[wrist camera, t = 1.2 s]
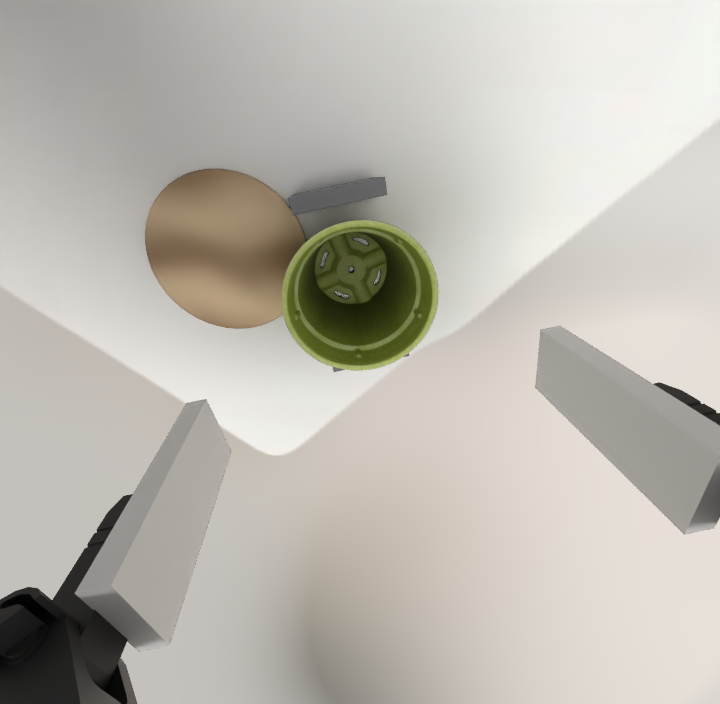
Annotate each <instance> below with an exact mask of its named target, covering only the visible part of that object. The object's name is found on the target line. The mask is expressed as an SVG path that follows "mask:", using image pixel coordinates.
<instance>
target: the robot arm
mask: <svg viewBox="0 0 720 704" xmlns="http://www.w3.org/2000/svg"><path fill="white" fill-rule="evenodd" d="M535 388H536V389H537V390H538V391H539V392H540V393H541V394H542V395H544V397H545V398H546V399H547V400H548V401H549V402H551V404H552V405H553V406H554V407H556V409H557V410H558V411H559V412H561V413H562V414H563V415H564V416H565V417H566V418H567V419H568V420H569V421H570V422H571V423H572V424H573V425H574V426H575V427H576V428H577V429H578V430H579V431H580V432H581V433H582V434H583V435H584V436H585V437H586V438H587V439H588V440H589V441H590V442H591V443H592V444H593V445H594V446H595V447H596V448H597V449H598V450H599V451H600V452H601V453H602V454H603V455H604V456H605V457H606V458H607V459H608V460H609V461H610V462H611V463H612V464H613V465H614V466H615V467H616V468H617V469H618V470H619V471H620V472H621V473H622V474H623V475H624V476H625V477H626V478H627V479H629V480H630V482H631V483H633V484H634V485H635V486H636V487H637V488H638V489H639V490H640V491H641V492H642V493H643V494H644V495H645V496H646V497H647V498H648V499H649V500H650V501H651V502H652V503H653V504H654V505H655V506H656V507H657V508H658V509H659V510H660V511H661V512H662V513H663V514H664V515H665V516H666V517H667V518H668V519H669V520H670V521H671V522H672V523H673V524H674V525H675V526H676V527H677V528H678V529H679V530H680V531H681V532H682V533H683V534H690V533H694V532H699V531H703V530H709V529H713V528H714V527H715V525H716V524H717V522H718V520H719V518H720V413H718V414H717V413H716V410H714V409H712V408H710V407H708V406H707V405H705V404H701V403H700V401H699V400H697V399H695V398H694V397H692V396H690V395H688V394H687V393H685V392H683V391H682V390H679V389H676V388H673V387H671V386H668V385H665V384H662V383H655V384H652V383H651V382H649V381H648V380H646V379H644V378H643V377H641V376H640V375H638V374H636V373H635V372H633V371H632V370H630V369H628V368H627V367H625V366H623V365H622V364H620V363H619V362H617V361H616V360H614V359H612V358H611V357H609V356H608V355H606V354H604V353H603V352H601V351H599V350H598V349H596V348H595V347H593V346H592V345H590V344H588V343H587V342H585V341H584V340H582V339H580V338H578V337H577V336H576V335H574V334H572V333H571V332H569V331H568V330H566V329H564V328H563V327H561V326H556V327H551V328H547V329H541V330H540V342H539V353H538V364H537V375H536V386H535ZM231 452H232V451H231V449H230V447H229V445H228V443H227V441H226V439H225V437H224V435H223V433H222V430H221V428H220V426H219V424H218V422H217V420H216V418H215V416H214V414H213V412H212V410H211V408H210V406H209V404H208V402H207V400H206V399H204V400H199V401H194V402H190V403H186V405H185V406H184V408H183V410H182V411H181V413H180V415H179V417H178V418H177V420H176V422H175V424H174V425H173V427H172V428H171V430H170V432H169V434H168V436H167V437H166V439H165V441H164V442H163V444H162V446H161V447H160V449H159V451H158V452H157V454H156V456H155V457H154V459H153V461H152V463H151V464H150V466H149V468H148V469H147V471H146V473H145V475H144V476H143V478H142V480H141V481H140V483H139V485H138V486H137V488H136V490H135V491H134V493H133V494H131V495H126V496H123V497H122V499H120V500H119V502H118V503H117V504H116V505H115V506H114V507H113V508H112V509H111V510H110V511H109V512H108V513H107V514H106V516H105V518H104V519H103V521H102V522H101V524H100V526H99V527H98V529H97V533H95V534H94V535H93V537H92V538H91V540H90V542H89V543H88V547H87V548H85V549H84V551H83V553H82V554H81V556H80V557H79V559H78V560H77V562H76V564H75V565H74V567H73V568H72V570H71V571H70V573H69V575H68V576H67V578H66V580H65V581H64V583H63V584H62V586H61V587H60V589H59V591H58V592H57V594H56V595H55V597H54V598H53V600H51V599H49V598H48V597H47V596H46V595H45V594H44V593H43V592H41V591H40V590H39V589H37V588H32V587H27V588H24V589H21V590H18V591H15V592H13V593H11V594H10V595H8V596H6V597H4V598H3V599H1V600H0V704H137V701H136V698H135V695H134V691H133V688H132V685H131V681H130V677H129V674H128V671H127V667H126V665H125V664H124V662H123V661H122V659H121V658H120V657H121V654H122V652H123V650H124V647H125V645H126V642H127V641H128V642H129V643H130V644H131V645H132V646H133V647H134V648H135V649H137V650H138V651H139V652H140V651H145V650H149V649H154V648H159V647H163V646H168V645H170V642H171V639H172V636H173V633H174V630H175V627H176V623H177V620H178V617H179V614H180V611H181V608H182V605H183V602H184V599H185V595H186V592H187V589H188V586H189V583H190V580H191V576H192V573H193V570H194V567H195V564H196V561H197V558H198V555H199V552H200V549H201V545H202V542H203V539H204V536H205V533H206V530H207V527H208V524H209V520H210V517H211V514H212V511H213V508H214V505H215V502H216V499H217V495H218V492H219V489H220V486H221V483H222V480H223V477H224V474H225V470H226V467H227V464H228V461H229V458H230V455H231Z"/></svg>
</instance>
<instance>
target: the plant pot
mask: <svg viewBox="0 0 720 704" xmlns="http://www.w3.org/2000/svg"><path fill="white" fill-rule="evenodd" d="M353 238H362V239H364V240H366V241H368V243H369V245H368V246H365V245H364V244H362V243H360V242H357V241H353ZM324 252H328V255H327V258H326V260H325V264H324V267H323V268H322V267H321V266H320V264H321V261H322V255H323V254H324ZM350 267H354V272H353V273H350V272H349V271H348V270H349V268H350ZM379 270H380V271H381V277H380V280H379V282H378V284H376V285H373V283H374V281H375V279H376V277H377V275H378V271H379ZM334 291H338V292H340V293H342V294H347V295H349V296H350V297H349V298H346V299H345V298H342V297H339V296H337V295H336V294H335V293H334ZM281 304H282V312H283V317H284V320H285V322H286V325H287V327H288V329H289V331H290V333H291V335H292V336H293V338H294V340H295V341H296V342H297V343H298V344H299V346H300V347H301V348H302V349H303V350H304V351H305V352H307V353H308V354H309V355H310V356H312V357H313V358H315V359H316V360H318V361H320V362H322V363H324V364H327V365H330V366H333V367H336V368H340V369H345V370H369V369H375V368H379V367H382V366H385V365H388V364H391V363H393V362H395V361H397V360H399V359H400V358H402V357H404V356H405V355H407V354H408V353H409V352H410V351H411V350H413V349H414V348H415V347H416V346H417V345H418V344H419V343H420V341H421V340H422V339H423V338H424V336H425V335H426V334H427V332H428V330H429V328H430V326H431V324H432V322H433V319H434V317H435V313H436V310H437V304H438V282H437V277H436V273H435V270H434V267H433V265H432V262H431V260H430V258H429V256H428V255H427V253H426V251H425V250H424V249H423V248H422V246H421V245H420V244H419V243H418V242H417V241H416V240H415V239H414V238H412V237H411V236H410V235H408V234H407V233H405V232H404V231H402V230H400V229H398V228H396V227H394V226H392V225H389V224H386V223H383V222H379V221H372V220H353V221H347V222H342V223H339V224H335V225H333V226H330V227H328V228H326V229H324V230H322V231H320V232H318V233H317V234H315V235H314V236H313V237H311V238H310V239H309V240H308V241H307V242H305V243H304V244H303V245H302V247H301V248H300V249H299V250H298V251H297V253H296V254H295V255H294V257H293V258H292V260H291V262H290V264H289V266H288V268H287V271H286V273H285V277H284V280H283V285H282V292H281Z"/></svg>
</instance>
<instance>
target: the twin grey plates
mask: <svg viewBox="0 0 720 704" xmlns="http://www.w3.org/2000/svg"><path fill="white" fill-rule="evenodd" d="M384 195H387V190H386V183H385V177H375V178H369V179H364V180H360V181H355V182H350V183H346V184H341V185H336V186H332V187H327V188H322V189H318V190H313V191H308V192H304V193H299V194H294V195H292V196H290V197H288V200H289V204H290V207H291V211H292V215H295V214H300V213H305V212H309V211H314V210H319V209H323V208H328V207H333V206H337V205H342V204H347V203H352V202H356V201H361V200H366V199H370V198H375V197H380V196H384ZM406 356H409V353H408V354H407V355H405V356H404V357H406ZM332 367H333V366H332ZM333 370H334V372H336V371H341V370H345V369H340V368H336V367H333Z"/></svg>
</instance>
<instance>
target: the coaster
mask: <svg viewBox="0 0 720 704" xmlns="http://www.w3.org/2000/svg"><path fill="white" fill-rule="evenodd" d="M305 242H306V240H305V237H304V234H303V231H302V228H301V226H300V224H299V222H298V220H297V218H296V216H295V215H292V211H291V209H290V207H289V206H288V205H287V204H286V202H285V201H284V200H283V199H282V198H281V197H280V196H279V195H278V194H277V193H276V192H274V191H273V190H272V189H270V188H269V187H268V186H267V185H265V184H263V183H262V182H260V181H258V180H257V179H254V178H252V177H250V176H248V175H245V174H242V173H239V172H235V171H230V170H223V169H206V170H199V171H195V172H192V173H188V174H186V175H184V176H182V177H180V178H177V179H176V180H175V181H173V182H172V183H170V184H169V185H168V186H167V187H166V188H165V189H164V190H163V191H162V192H161V193H160V194H159V196H158V197H157V198H156V200H155V201H154V203H153V206H152V208H151V210H150V212H149V216H148V219H147V224H146V230H145V243H146V250H147V255H148V259H149V262H150V265H151V267H152V270H153V272H154V274H155V276H156V278H157V280H158V282H159V283H160V285H161V286H162V287H163V289H164V290H165V292H166V293H167V294H168V295H169V296H170V297H171V298H172V300H174V301H175V302H176V303H177V304H178V305H179V306H180V307H181V308H183V309H184V310H186V311H187V312H188V313H190V314H192V315H193V316H195V317H197V318H198V319H201V320H203V321H205V322H208V323H211V324H214V325H217V326H221V327H226V328H251V327H256V326H260V325H263V324H266V323H268V322H271V321H273V320H274V319H276V318H278V317H279V316H281V315H282V314H283V312H282V304H281V292H282V285H283V280H284V277H285V273H286V271H287V268H288V266H289V264H290V262H291V260H292V258H293V257H294V255H295V254H296V253H297V251H298V250H299V249H300V248H301V247H302V245H303V244H304V243H305Z"/></svg>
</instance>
